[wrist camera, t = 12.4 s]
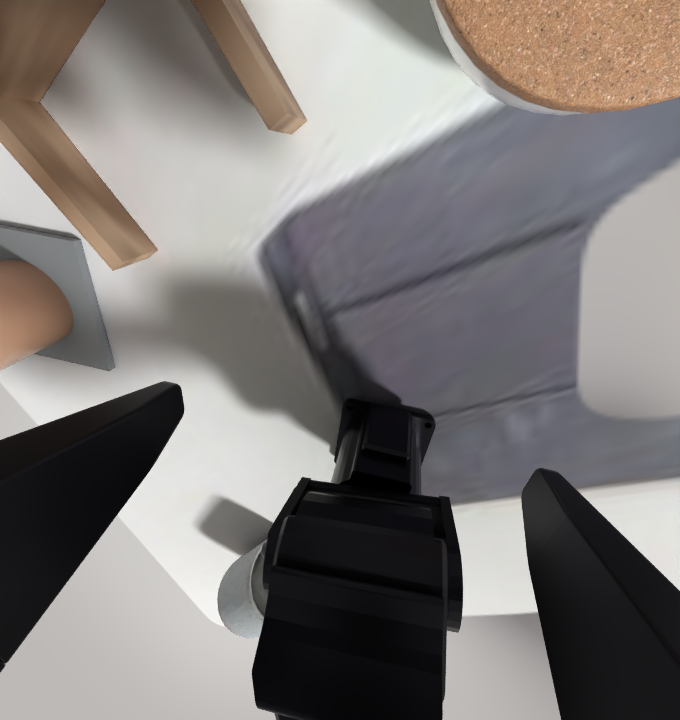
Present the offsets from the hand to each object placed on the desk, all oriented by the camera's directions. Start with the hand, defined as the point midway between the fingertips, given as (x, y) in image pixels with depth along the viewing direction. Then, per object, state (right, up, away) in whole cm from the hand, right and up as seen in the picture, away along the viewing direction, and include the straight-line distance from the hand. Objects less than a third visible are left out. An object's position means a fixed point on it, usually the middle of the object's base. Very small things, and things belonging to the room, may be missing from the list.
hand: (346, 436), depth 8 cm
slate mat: (-22, +7, +17) cm, 29 cm away
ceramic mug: (-5, -19, +28) cm, 35 cm away
